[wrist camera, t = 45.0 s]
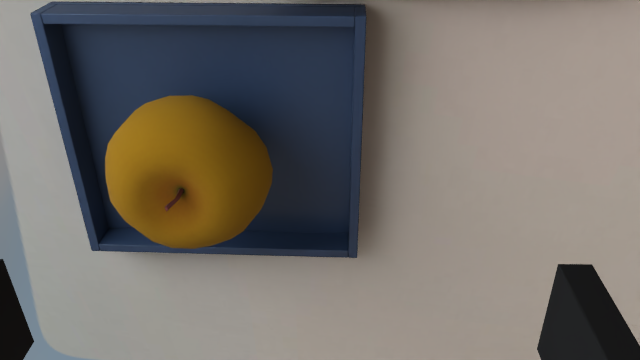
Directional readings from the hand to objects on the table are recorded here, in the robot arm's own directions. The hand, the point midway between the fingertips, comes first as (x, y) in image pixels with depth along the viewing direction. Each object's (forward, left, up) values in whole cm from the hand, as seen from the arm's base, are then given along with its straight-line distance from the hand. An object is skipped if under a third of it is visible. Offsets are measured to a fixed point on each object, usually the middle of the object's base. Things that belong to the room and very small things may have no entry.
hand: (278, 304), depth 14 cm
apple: (-7, -6, -22) cm, 24 cm away
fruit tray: (-7, -6, -23) cm, 25 cm away
